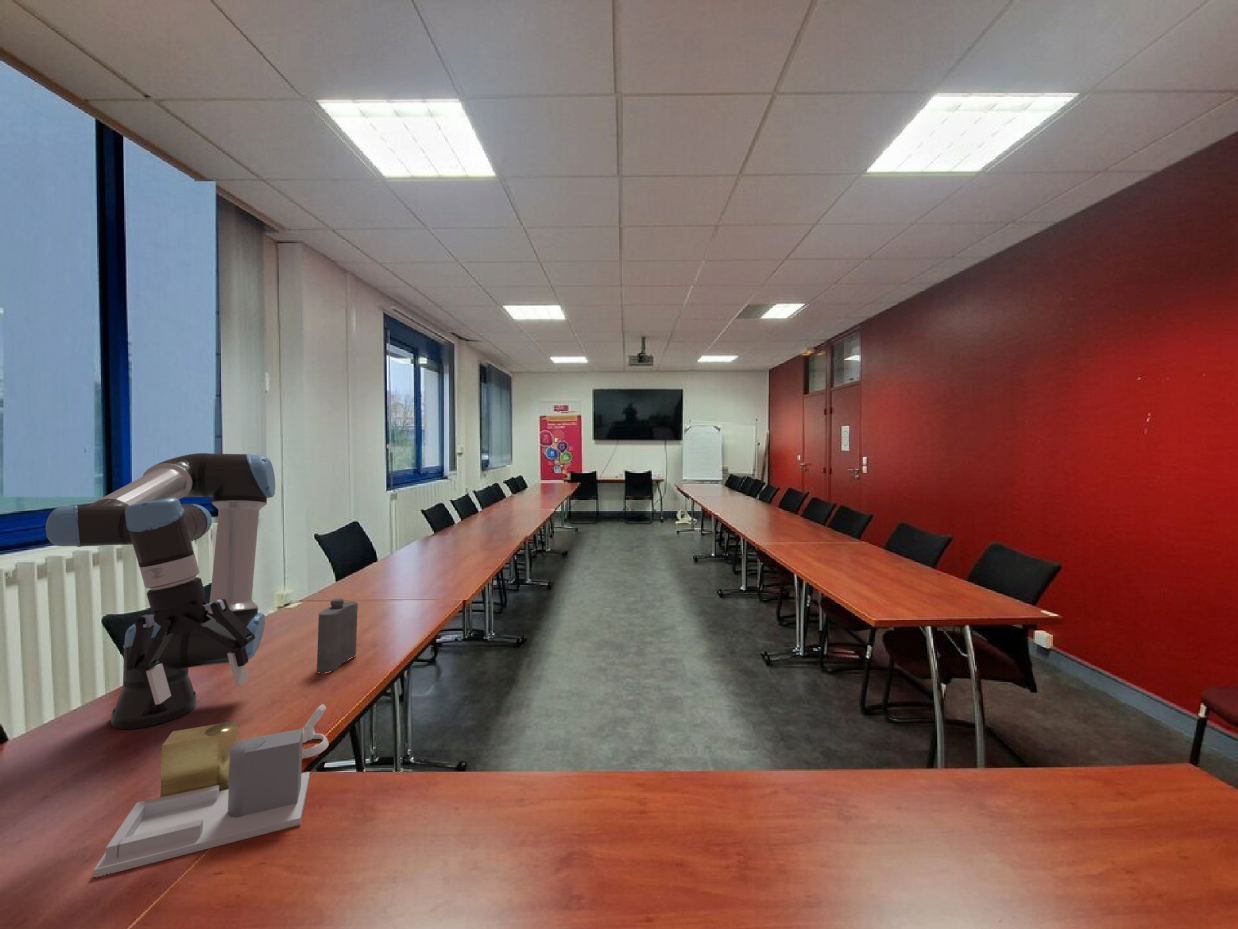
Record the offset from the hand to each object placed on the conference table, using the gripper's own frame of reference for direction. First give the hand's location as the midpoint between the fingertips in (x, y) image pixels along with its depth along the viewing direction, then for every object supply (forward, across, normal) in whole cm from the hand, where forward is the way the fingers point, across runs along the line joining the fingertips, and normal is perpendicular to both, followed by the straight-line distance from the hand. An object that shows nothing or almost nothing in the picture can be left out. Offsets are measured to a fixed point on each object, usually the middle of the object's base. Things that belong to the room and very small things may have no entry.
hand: (203, 691), depth 91 cm
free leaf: (+19, -5, 0) cm, 19 cm away
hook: (+23, +8, +12) cm, 27 cm away
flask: (+23, -6, +59) cm, 64 cm away
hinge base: (+20, +3, -9) cm, 22 cm away
